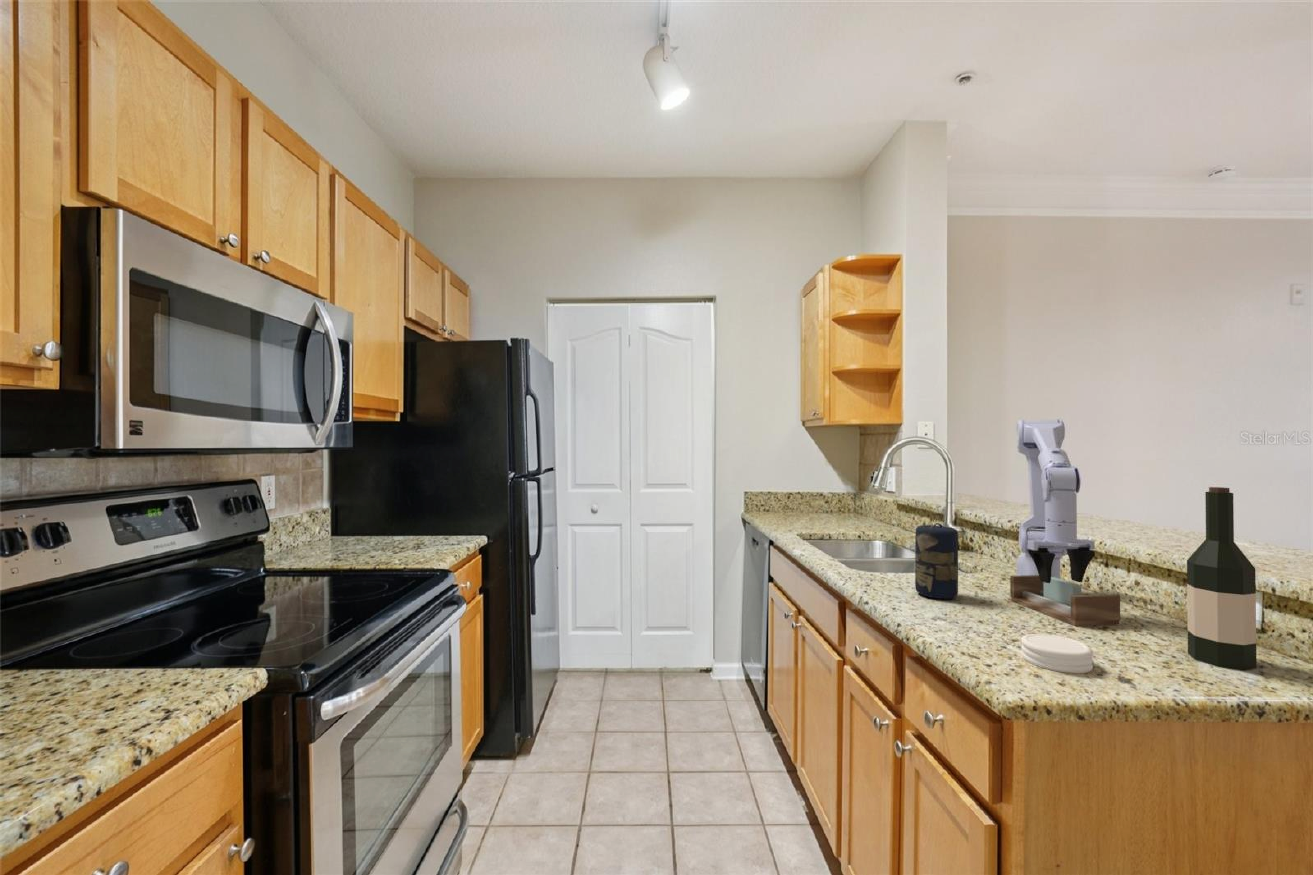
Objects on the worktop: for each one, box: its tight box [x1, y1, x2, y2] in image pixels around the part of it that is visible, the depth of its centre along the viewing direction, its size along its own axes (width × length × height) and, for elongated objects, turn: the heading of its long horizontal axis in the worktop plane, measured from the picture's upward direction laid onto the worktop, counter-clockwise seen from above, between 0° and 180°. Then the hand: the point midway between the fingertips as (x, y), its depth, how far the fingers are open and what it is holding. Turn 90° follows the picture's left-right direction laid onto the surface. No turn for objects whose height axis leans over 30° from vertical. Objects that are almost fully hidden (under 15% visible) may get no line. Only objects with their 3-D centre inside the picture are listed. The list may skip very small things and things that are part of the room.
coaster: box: [1020, 633, 1094, 674], centre depth 95 cm, size 10×10×4 cm
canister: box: [914, 522, 959, 599], centre depth 136 cm, size 10×10×18 cm
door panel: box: [1043, 576, 1082, 607], centre depth 122 cm, size 8×2×6 cm, turn 5°
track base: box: [1009, 575, 1121, 627], centre depth 123 cm, size 18×10×6 cm, turn 5°
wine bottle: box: [1186, 486, 1258, 671], centre depth 95 cm, size 8×8×30 cm
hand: (1061, 581), depth 123 cm, fingers open, 7 cm apart
